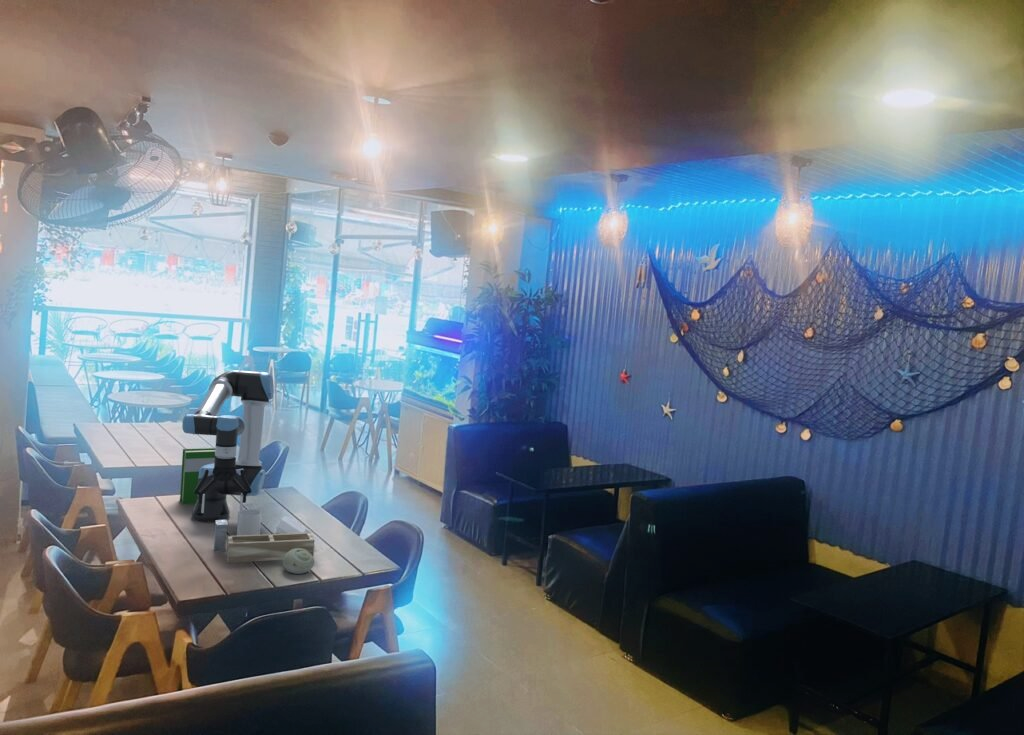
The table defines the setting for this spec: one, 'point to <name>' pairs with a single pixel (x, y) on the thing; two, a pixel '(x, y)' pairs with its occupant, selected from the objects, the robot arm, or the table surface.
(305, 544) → the well block
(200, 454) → the hardback book
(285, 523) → the crystal
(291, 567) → the seashell
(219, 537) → the pale blue pillar block
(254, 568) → the table surface
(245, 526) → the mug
